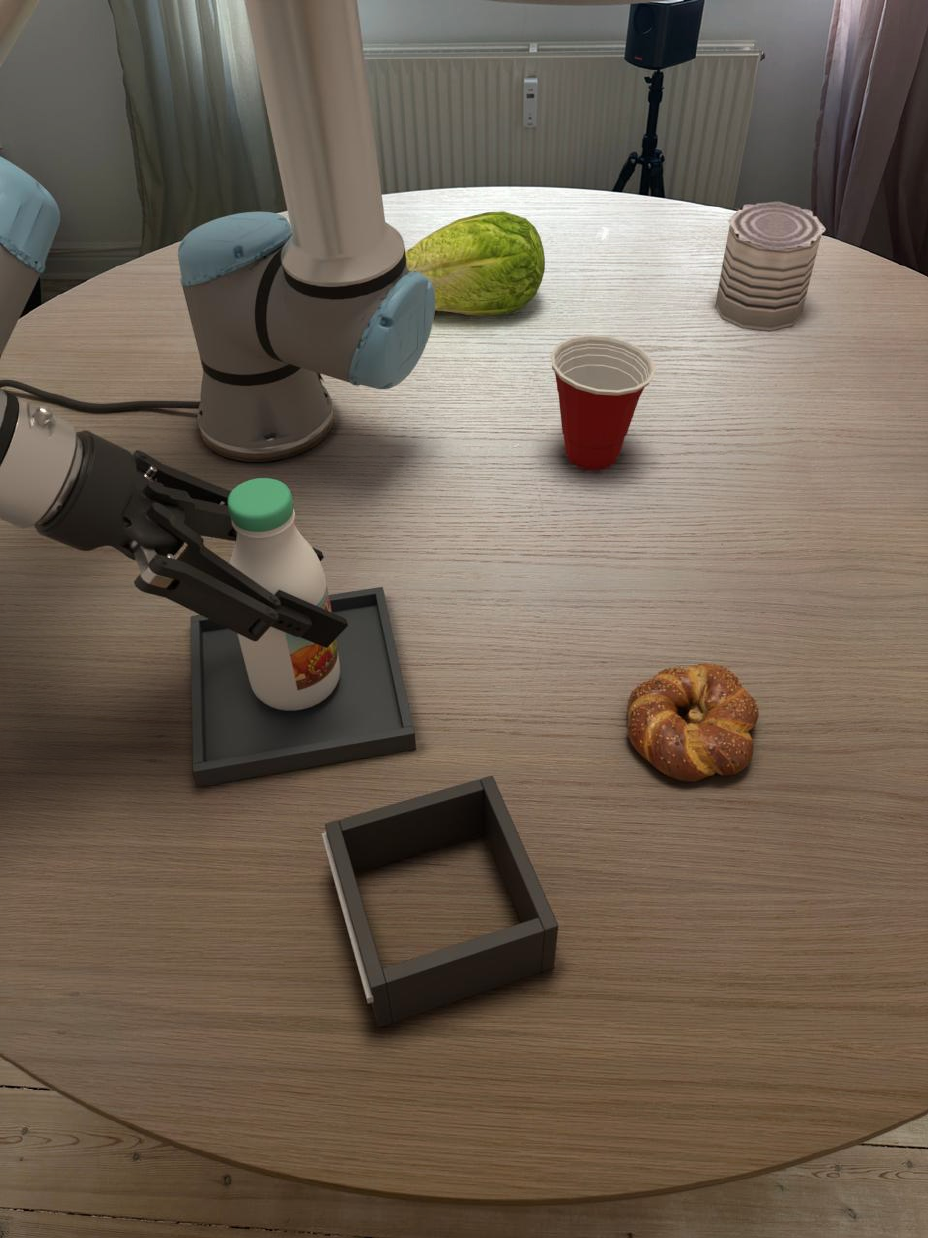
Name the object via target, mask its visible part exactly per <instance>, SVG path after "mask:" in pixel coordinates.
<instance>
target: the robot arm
mask: <svg viewBox="0 0 928 1238" xmlns="http://www.w3.org/2000/svg"><path fill="white" fill-rule="evenodd" d="M40 1H41V0H0V69H1V67H2V66H3V65H4V63H5V61H6V59H7V58H8V56H9V54H10V52H11V50H12V49H13V47H14V46H15V44H16V42H17V41H18V39H19V37H20V35H21V34H22V32H23V30H24V28H25V27H26V25H27V24H28V22H29V20H30V18H31V17H32V15H33V13H34V12H35V10H36V8H37V6H38V5H39V3H40ZM244 6H245V10H246V14H247V19H248V24H249V29H250V34H251V39H252V44H253V49H254V55H255V59H256V64H257V68H258V74H259V78H260V84H261V88H262V93H263V98H264V103H265V108H266V111H267V112H266V113H267V117H268V118H267V119H268V121H269V127H270V133H271V137H272V142H273V147H274V152H275V156H276V161H277V166H278V171H279V175H280V180H281V185H282V190H283V195H284V200H285V205H286V210H287V216H288V219H289V221H288V219H287V218H286V217H285V216H283V215H282V214H279V213H276V212H271V211H247V212H240V213H234V214H229V215H226V216H221V217H218V218H215V219H213V220H210V221H207V222H205V223H203V224H201V225H199V226H197V227H196V228H194V229H192V230H191V231H189V232H188V233H187V234H186V235H185V236H184V237H183V239H182V240H181V241H180V243H179V245H178V249H177V260H178V265H179V272H180V280H179V281H180V284H181V287H182V290H183V295H184V298H185V299H184V300H185V303H186V308H187V311H188V315H189V318H190V323H191V328H192V330H193V331H192V332H193V335H194V339H195V343H196V347H197V351H198V354H199V358H200V364H201V368H202V380H201V387H200V401H197V400H195V401H194V400H192V401H191V400H190V401H189V400H135V401H134V400H133V401H123V402H109V403H108V402H107V403H94V402H86V401H81V400H77V399H73V398H70V397H67V396H65V395H60V394H57V393H52V392H50V391H49V392H48V391H47V390H44V389H43V390H42V389H40V388H37V387H34V386H32V385H29V384H26V383H24V382H21V381H19V380H13V379H0V520H2V521H4V522H7V523H9V524H11V525H14V526H16V527H18V528H22V529H27V528H32V527H34V529H35V530H36V532H37V533H38V534H39V535H40V536H43V537H45V538H48V539H51V540H54V541H55V542H58V543H60V544H63V545H65V546H67V547H70V548H73V549H75V550H78V551H81V552H90V551H94V550H96V549H99V548H103V547H111V548H113V549H115V550H117V551H118V552H119V553H122V554H123V555H124V556H125V557H127V558H128V559H130V560H132V561H135V562H136V563H137V566H138V568H139V571H140V573H139V575H137V577H136V579H135V580H134V581H133V583H134V586H135V588H136V589H138V590H139V591H140V592H143V593H144V594H149V595H153V596H157V597H161V598H165V599H167V600H169V601H171V602H173V603H175V604H177V605H180V606H182V607H183V608H185V609H188V610H190V611H191V612H193V613H195V614H197V615H202V616H204V617H206V618H208V619H210V620H212V621H214V622H216V623H218V624H220V625H222V626H224V627H226V628H228V629H230V630H232V631H234V632H236V633H238V634H240V635H242V636H244V637H246V638H248V639H250V640H252V641H258V640H259V639H260V638H261V637H262V636H263V634H264V633H265V632H266V631H267V630H268V629H269V628H270V627H273V628H275V629H278V630H280V631H283V632H286V633H288V634H290V635H293V636H295V637H301V638H303V639H305V640H308V641H310V642H313V643H315V644H318V645H320V646H323V647H325V648H328V647H329V646H330V645H331V643H332V642H333V641H334V640H335V639H336V638H337V637H338V636H339V635H340V634H341V633H342V632H343V631H344V630H345V628H346V627H347V626H348V623H347V620H346V619H345V618H343V617H341V616H339V615H336V614H334V613H332V612H329V611H327V610H325V609H323V608H320V607H318V606H316V605H313V604H311V603H309V602H307V601H304V600H302V599H300V598H297V597H295V596H293V595H291V594H288V593H286V592H284V591H281V590H278V591H277V592H276V593H275V595H274V594H272V593H271V592H269V591H268V590H266V589H265V588H264V587H262V586H261V585H259V584H258V583H256V582H255V581H254V580H252V579H251V578H249V577H248V576H246V575H245V574H243V573H242V572H241V571H239V570H238V569H236V568H235V567H233V566H232V565H231V564H229V563H230V562H228V561H226V560H225V559H224V558H222V557H220V556H219V555H218V554H216V553H215V552H213V551H212V550H210V549H209V548H207V547H206V545H205V544H204V538H203V537H206V538H211V539H212V538H213V539H220V540H225V541H231V542H236V539H237V531H236V530H235V529H234V528H233V526H232V519H231V517H230V513H229V509H228V497H229V495H230V493H231V491H232V490H228V489H226V488H223V487H221V486H220V485H216V484H213V483H211V482H209V481H206V480H204V479H201V478H198V477H196V476H194V475H191V474H189V473H187V472H184V471H181V470H179V469H176V468H174V467H171V466H169V465H167V464H164V463H162V462H161V461H159V460H157V459H156V458H154V457H153V456H150V455H149V454H147V453H146V452H144V451H142V450H139V449H136V450H135V451H134V452H133V453H131V452H130V451H129V450H127V449H126V448H124V447H122V446H120V445H118V444H116V443H114V442H112V441H110V440H108V439H106V438H104V437H102V436H100V435H98V434H95V433H94V432H91V431H90V430H82V431H77V430H76V428H75V425H74V424H73V423H72V422H69V421H67V420H65V419H63V418H61V417H59V416H58V415H55V414H53V412H52V410H51V408H50V407H48V406H46V405H39V406H37V405H34V404H32V403H31V402H28V401H26V400H24V399H22V398H20V397H18V396H16V394H13V393H11V392H9V391H8V390H6V389H2V388H5V387H7V388H12V389H13V388H14V389H17V390H20V391H23V392H26V393H28V394H30V395H33V396H36V397H38V398H41V399H45V400H48V401H51V402H57V403H59V404H63V405H66V406H70V407H72V408H76V409H80V410H84V411H85V410H87V411H94V412H109V411H123V410H133V409H185V410H186V409H188V410H189V409H191V410H197V423H198V427H199V431H200V436H201V437H202V438H201V439H202V441H203V442H204V444H205V445H206V446H207V447H208V449H210V450H211V451H213V452H214V453H216V454H218V455H220V456H222V457H223V458H224V457H225V458H227V459H231V460H235V461H240V462H248V463H249V462H251V463H262V462H264V463H265V462H273V461H280V460H283V459H288V458H292V457H295V456H297V455H299V454H302V453H305V452H306V451H309V450H310V449H312V448H313V447H315V446H317V445H318V444H319V443H320V442H321V441H323V440H324V439H325V438H326V436H328V434H329V433H330V431H331V429H332V428H333V425H334V419H335V417H334V410H333V409H334V408H333V402H332V398H331V396H330V393H329V392H328V390H327V389H326V387H325V386H324V385H323V383H325V380H324V379H323V376H322V375H324V376H327V377H330V378H333V379H336V380H340V381H343V382H346V383H349V384H351V385H352V386H355V387H359V386H364V387H368V388H372V389H376V390H389V389H392V388H394V387H397V386H399V385H400V384H401V383H402V382H403V381H404V380H406V378H408V377H409V375H410V374H411V373H412V372H413V370H414V369H415V368H416V367H417V364H418V363H419V361H420V360H421V357H422V356H423V353H424V352H425V348H426V346H427V344H428V342H429V339H430V335H431V333H432V329H433V326H434V320H435V313H436V311H435V291H434V287H433V284H432V282H431V281H430V280H429V279H428V278H427V277H426V276H425V275H423V274H421V273H420V272H419V271H417V272H416V271H413V270H412V271H409V270H408V268H407V262H406V254H405V252H406V246H405V241H404V238H403V236H402V235H401V233H400V231H398V230H397V228H395V227H394V226H392V225H391V224H390V223H387V222H386V218H385V210H384V209H385V208H384V202H383V194H382V185H381V178H380V170H379V161H378V154H377V146H376V138H375V131H374V130H375V129H374V123H373V122H374V121H373V114H372V108H371V99H370V91H369V83H368V76H367V75H368V74H367V68H366V59H365V51H364V44H363V36H362V29H361V21H360V13H359V5H358V0H244ZM59 208H60V207H59V206H58V203H57V201H56V200H55V198H54V197H53V196H52V194H51V193H50V192H49V191H48V190H47V189H46V188H45V187H44V186H43V185H42V184H41V183H40V182H38V181H37V179H35V178H34V177H32V175H30V174H29V173H27V172H26V171H25V170H23V169H22V168H20V167H19V166H17V165H16V164H14V163H12V162H11V161H9V160H8V159H6V158H4V157H2V156H0V360H1V358H2V356H3V353H4V351H5V349H6V347H7V345H8V342H9V340H10V338H11V336H12V334H13V332H14V330H15V328H16V326H17V324H18V322H19V319H20V318H21V315H22V314H23V311H24V309H25V308H26V305H27V303H28V302H29V299H30V297H31V295H32V293H33V291H34V289H35V287H36V285H37V282H38V280H39V278H40V276H41V274H43V273H44V271H45V269H46V264H45V263H46V262H47V261H46V260H47V258H48V256H49V253H50V250H51V247H52V245H53V242H54V239H55V237H56V234H57V231H58V228H59V226H60V223H61V212H60V209H59ZM222 502H223V504H221V503H222ZM185 544H186V545H187V546H185V548H184V549H183V550H182V552H181V553H180V554H179V555H178V557H177V558H176V557H175V556H176V555H177V553H178V552H179V551H180V550H181V549H182V548H183V546H184V545H185ZM311 547H312V548H313V550H314V551H315V553H316V554H317V556H318V558H319V560H320V562H322V561H323V559H324V558H325V556H324V553H323V551H321V550H319V549H317V548H315V547H313V546H311Z"/></svg>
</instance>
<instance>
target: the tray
mask: <svg viewBox="0 0 928 1238" xmlns="http://www.w3.org/2000/svg"><path fill="white" fill-rule="evenodd" d="M329 599H330V605H331V611H332V613H334V614H336V615H339V616H341V617H343V618H345V619H346V620H347V623H348V626H347V627H346V628H345V630H344V631H343V632H342V633H341V634H340V635H339V636H338V637H337V638H336V643H337V649H338V656H339V663H340V677H339V680H338V683H337V685H336V687H335V688H334V690H333V691H332V693H331V694H330V695H329V696H328V697H327V698H326V699H324V700H323V701H321V702H320V703H318V704H316V705H314V706H312V707H309V708H306V709H302V710H295V711H285V710H279V709H276V708H273V707H270V706H269V705H267V704H265V703H264V702H262V701H261V700H260V699H259V698H258V697H257V696H256V695H255V693H254V692H253V690H252V687H251V684H250V681H249V677H248V673H247V669H246V665H245V661H244V657H243V653H242V650H241V646H240V642H239V638H238V634H237V633H236V632H234V631H232V630H230V629H228V628H226V627H224V626H222V625H220V624H218V623H216V622H214V621H212V620H210V619H208V618H206V617H204V616H202V615H200V614H195V615H190V620H189V621H190V665H191V666H190V668H191V669H190V671H191V672H190V673H191V674H190V676H191V722H192V723H191V726H192V727H191V729H192V731H191V733H192V737H191V738H192V773H193V776H194V778H195V782H196V784H197V787H206V786H211V785H218V784H223V783H229V782H235V781H240V780H246V779H252V778H257V777H263V776H269V775H274V774H280V773H286V772H292V771H297V770H302V769H308V768H314V767H321V766H325V765H331V764H338V763H343V762H349V761H354V760H359V759H365V758H371V757H376V756H377V757H378V756H381V755H382V756H383V755H388V754H394V753H399V752H400V753H401V752H407V751H411V750H416V749H417V744H416V743H417V741H416V731H415V727H414V722H413V718H412V714H411V710H410V709H411V708H410V705H409V701H408V695H407V691H406V686H405V681H404V678H403V672H402V667H401V662H400V659H399V655H398V649H397V645H396V640H395V635H394V631H393V627H392V626H393V625H392V622H391V617H390V614H389V609H388V604H387V600H386V595H385V591H384V586H377V587H372V588H366V589H359V590H352V591H351V590H350V591H346V592H338V593H331V594H329Z"/></svg>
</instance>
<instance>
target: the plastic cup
mask: <svg viewBox="0 0 928 1238" xmlns="http://www.w3.org/2000/svg"><path fill="white" fill-rule="evenodd" d="M550 360H551V362H550V363H551V369H552V370H553V373H554V375H555V382H556V391H557V392H558V393H557V394H558V402H559V403H558V404H559V415H560V422H561V423H560V424H561V433H562V435H563V443H564V453H565V455H566V459H567V460H568V462H569V463H570V464H571V465H573V466H575V467H576V468H578V469H583V470H587V471H601V470H605V469H608V468H610V467H611V466H614V465H615V464H616V462H617V460H618V458H619V456H620V454H621V451H622V447H623V445H624V442H625V439H626V437H627V435H628V432H629V429H630V427H631V424H632V421H633V417H634V414H635V412H636V408H637V405H638V403H639V400H640V397H641V396H642V393H643V391H644V390H645V388H646V387H647V386H649V385H650V383H651V382H652V380H653V378H654V376H655V374H656V372H657V369H656V366H655V361H654V359H653V358H652V357H651V356H650V355H649V354H648V352H646V350H644V349H643V348H641V347H640V346H637V345H635V344H634V343H632V342H630V341H628V340H625V339H621V338H617V337H614V336H610V335H597V334H584V335H578V336H573V337H569V338H567V339H565V340H563V341H561V342H559V343H557V344H556V345H555V347H554V348H553V350H552V351H551V353H550Z"/></svg>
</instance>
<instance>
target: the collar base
mask: <svg viewBox="0 0 928 1238" xmlns="http://www.w3.org/2000/svg"><path fill="white" fill-rule="evenodd" d="M515 825H516V824H515V823H514V821H513V819H512V816H511V814H510V812H509V810H508V807H507V805H506V803H505V800H504V798H503V795H502V793H501V792H500V789H499V787H498V784H497V782H496V779H495V778H494V775H488V776H485V777H482V778H481V777H480V779H475V780H471V781H468V782H465V783H460V784H457V785H454V786H450V787H446V788H444V789H439V790H437V791H433V792H430V793H427V794H423V795H420V796H416V797H412V798H410V799H406V800H403V801H398V802H396V803H393V804H389V805H386V806H382V807H378V808H375V809H371V810H367V811H365V812H361V813H358V814H354V815H351V816H347V817H344V818H341V819H338V820H337V819H336V820H333V821H329V822H326V823H324V827H325V832H321V838H322V839H321V840H322V842H323V846H324V849H325V853H326V857H327V861H328V864H329V867H330V871H331V875H332V878H333V882H334V886H335V889H336V893H337V897H338V901H339V904H340V908H341V911H342V915H343V918H344V919H343V920H344V922H345V926H346V930H347V933H348V936H349V941H350V944H351V948H352V952H353V954H354V958H355V962H356V966H357V969H358V973H359V977H360V981H361V984H362V987H363V992H364V995H365V998H366V1002H367V1004H371V1007H372V1011H373V1015H374V1019H375V1022H376V1025H377V1028H382V1027H384V1026H387V1025H390V1024H393V1023H396V1022H400V1021H402V1020H405V1019H408V1018H412V1017H413V1016H417V1015H419V1014H423V1013H425V1012H429V1011H432V1010H434V1009H437V1008H440V1007H443V1006H446V1005H449V1004H451V1003H455V1002H458V1001H461V1000H464V999H467V998H469V997H472V996H475V995H478V994H481V993H484V992H487V991H490V990H493V989H497V988H498V987H502V986H505V985H508V984H511V983H513V982H517V981H519V980H522V979H525V978H528V977H531V976H534V975H537V974H540V973H542V972H545V971H548V970H551V969H553V968H554V967H555V959H556V952H557V943H558V935H559V932H558V931H559V923H558V921H557V919H556V916H555V914H554V912H553V909H552V908H551V905H550V903H549V901H548V898H547V896H546V894H545V891H544V890H543V889H544V888H543V886H542V885H541V882H540V880H539V877H538V876H537V873H536V871H535V869H534V866H533V865H532V862H531V860H530V858H529V855H528V853H527V851H526V848H525V846H524V844H523V841H522V839H521V837H520V834H519V833H518V830H517V828H516V826H515ZM481 836H484V837H485V841H486V842H487V845H488V847H489V848H490V852H491V854H492V857H493V859H494V861H495V864H496V866H497V869H498V871H499V874H500V876H501V879H502V881H503V884H504V886H505V888H506V890H507V891H506V892H507V893H508V895H509V898H510V900H511V901H510V902H511V903H512V905H513V908H514V910H515V912H516V915H517V917H518V919H519V922H520V923H518V924H514V925H510V926H508V927H506V928H505V927H504V928H502V929H499V930H496V931H493V932H490V933H487V934H484V935H480V936H478V937H475V938H472V939H469V940H466V941H463V942H459V943H457V944H453V945H451V946H447V947H444V948H441V949H438V950H435V951H432V952H429V953H426V954H423V955H420V956H417V957H414V958H410V959H407V960H404V961H401V962H398V963H396V964H395V963H394V964H393V965H392V964H391V965H390V966H386V967H383V968H382V963H381V960H380V956H379V953H378V950H377V946H376V944H375V940H374V937H373V934H372V933H373V932H372V930H371V926H370V923H369V920H368V915H367V912H366V909H365V906H364V902H363V899H362V896H361V892H360V888H359V885H358V882H357V878H356V874H359V873H362V872H365V871H369V870H372V869H375V868H378V867H382V866H385V865H389V864H391V863H395V862H398V861H401V860H404V859H408V858H412V857H415V856H418V855H421V854H425V853H427V852H431V851H435V850H438V849H440V848H444V847H447V846H451V845H453V844H458V843H460V842H464V841H467V840H470V839H474V838H477V837H481Z"/></svg>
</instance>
